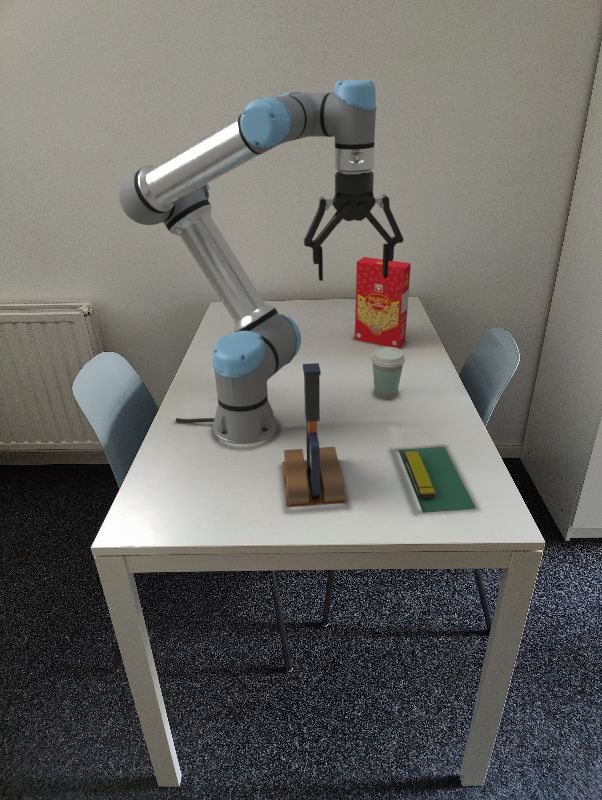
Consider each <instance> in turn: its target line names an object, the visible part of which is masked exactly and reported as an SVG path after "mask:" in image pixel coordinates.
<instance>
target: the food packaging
mask: <svg viewBox="0 0 602 800" xmlns="http://www.w3.org/2000/svg"><path fill="white" fill-rule="evenodd" d="M382 265H383V258H377V257H376V258H375V257H368V256H363V257H361V258H360V259H358V260H357V261H356V269H355V270H356V271H355V272H356V273H355V308H354V309H355V312H354V340H356V341H360V342H364V343H370V344H374V345H379V346H383V347H394V348H398V349H400V348H401V347H402V346H403V345H404V344H405V343H406V336H407V335H406V333H407V320H408V307H409V294H410V281H411V268H412V267H411V266H412V263H411V262H406V261H405V262H404V261H397V260H393V261H388V278H384V277H383V275H382Z"/></svg>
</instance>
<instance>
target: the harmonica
mask: <svg viewBox="0 0 602 800" xmlns="http://www.w3.org/2000/svg"><path fill="white" fill-rule="evenodd" d="M404 456H405V459H406V463H407V466H408V469H409V472H410V474H411V477H412V479H413V482H414V485H415V487H416V490H417V492H418V494H419V495H420V497H421V498H426V497H435V491H434V489H433V485H432V483H431V481H430V478H429V476H428V474H427V471H426V469H425V467H424V464H423V462H422V459H421V457H420V455H419V454H418V451H407V452H404Z"/></svg>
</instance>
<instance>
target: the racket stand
mask: <svg viewBox="0 0 602 800" xmlns="http://www.w3.org/2000/svg"><path fill="white" fill-rule="evenodd" d="M319 448H320V497H312V496H311V490H310V483H309V477H308V470H307V459H305V457H304V456H305V455H304V449H303V448H295V449H293V448H292V449H284V450H283V457H284V461H282V462H281V464H282V475H283V487H284V495H285V497H284V498H285V506H286V508H298V507H300V508H301V507H311V506H324V505H341V504H348V500H347V496H346V492H345V485H344V479H343V476H342V472H341V468H340V463H339V459H338V455H337V454H338V453H337V450H336V447H335V446H324V447H323V446H322V447H319Z"/></svg>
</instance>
